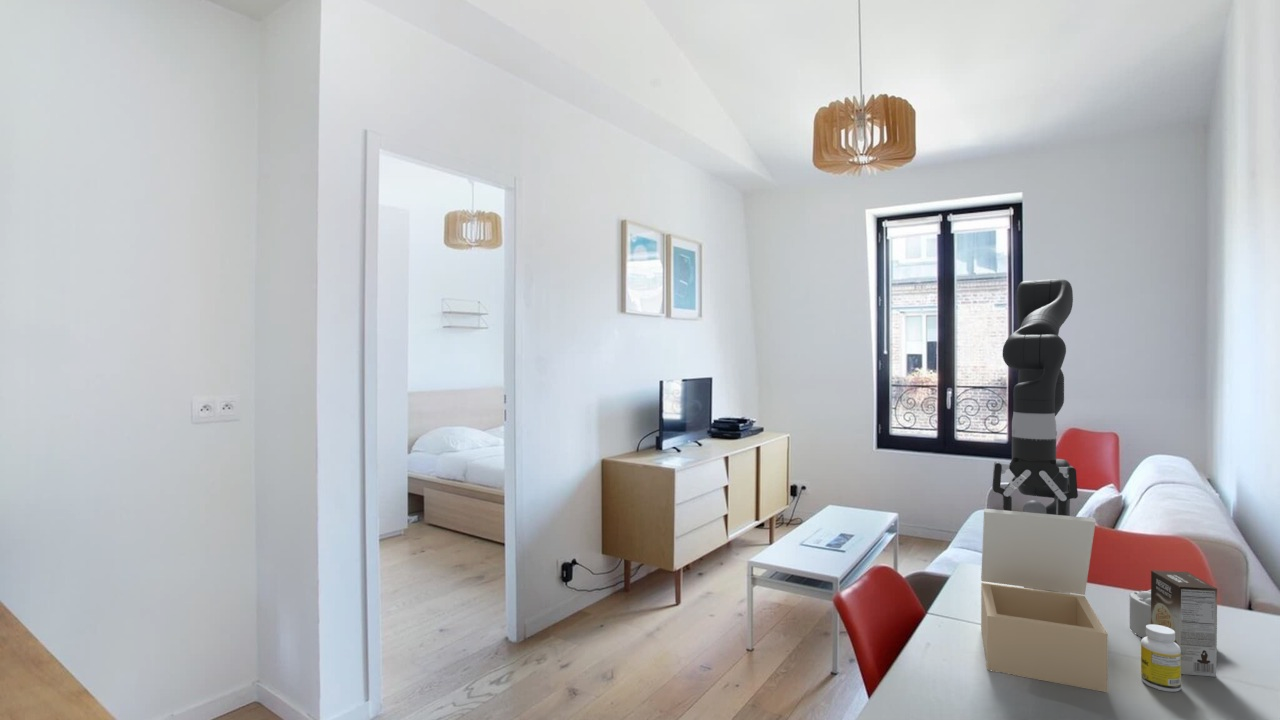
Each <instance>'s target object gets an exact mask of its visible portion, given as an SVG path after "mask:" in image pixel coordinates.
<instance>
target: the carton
mask: <svg viewBox="0 0 1280 720" xmlns="http://www.w3.org/2000/svg"><path fill="white" fill-rule="evenodd" d="M980 586H981V587H980V588H981V589H980V591H981V592H980V595H981V596H980V601H981V602H980V604H981V607H980V609H981V610H980V615H981V616H980V617H981V618H980V619H981V620H980V622H981V623H980V627H981V628H980V629H981V636H982V637H981V638H982V644H983V650H984V655H985V656H984V657H985V662H986V664H985V665H986V669H987V671H989V670H992V671H991V672H994V671H997V672H996V673H1000V672H1004V673H1003V674H1005V673H1009V674H1008V675H1010V674H1013V675H1012V676H1016V675H1017V677H1020V678H1021V677H1023V678H1028V679H1032V680H1033V679H1034V680H1039V681H1043V682H1044V681H1045V682H1050V683H1055V684H1060V685H1065V686H1071V687H1077V688H1082V689H1089V690H1094V691H1098V692H1104V693H1108V646H1109V645H1108V643H1109V642H1108V639H1109V638H1108V633H1107V630H1106V628H1105V627H1104V626H1103V624H1102V622H1101V620H1100V618H1098V616H1097V613H1095V611H1094V608H1093V607H1092V605H1091V604H1090V602H1089V601H1088V600H1087V597H1086V596H1085V595H1083V594H1075V593H1070V594H1067V593H1059V592H1052V591H1044V590H1037V589H1029V588H1024V587H1022V586H1014V585H1007V584H999V583H991V582H984V581H981V583H980Z"/></svg>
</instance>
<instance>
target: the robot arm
mask: <svg viewBox="0 0 1280 720" xmlns="http://www.w3.org/2000/svg"><path fill="white" fill-rule="evenodd" d="M1073 295H1074V294H1073V287H1072V284H1071V283H1070V281H1069V280H1066V279H1063V278H1052V279H1036V280H1024V281H1021V282H1020V283H1019V284H1018V286H1017V289H1016V313H1017V314H1016V315H1017V316H1016V317H1017V330H1015V331H1013V332H1012V333H1011V334H1010V335H1009V336H1008V337H1007V339H1006V340H1005V342H1004V344H1003V347H1002V359H1003V361H1004V363H1005V364H1006V366H1008V367H1009V368H1010V369H1013V370H1015V371H1018V378H1017V384H1015V385H1014V387H1013V394H1012V396H1013V399H1012V400H1013V403H1012V404H1013V412H1012V413H1013V414H1012V419H1011V461H1010V463H1005V462H1004V463H1003V462H1000V461H994V463H993V470H992V471H993V473H992V487H991V488H992V491H993V492H994V493H995V494H997V493H998V494H999V495H1002V510H1007V511H1013V510H1012V507H1013V505H1012V494H1013V493H1014V492H1015V490H1018V491H1019V493H1020V494H1022V495H1025V496H1032V497H1041V498H1049V499H1050V498H1051V499H1054V500H1053V502H1051V503H1050V504H1048V505H1047V504H1046V505H1044V506H1045V508H1046V511H1047V513H1046V514H1052V515H1063V516H1071V514H1070V513H1071V508H1070V507H1071V504H1070V503H1071V500H1072V499H1077V498H1078V497H1079V494H1078V493H1079V492H1078V482H1077V481H1078V480H1077V470H1076V468H1075V467H1074V466H1072V465H1070V463H1069V461H1068V460H1066V459H1063V458H1057V435H1058V431H1057V420H1056V416H1057V415H1058V414H1059V412H1060V411H1061V409H1062V408H1063V406H1064V403H1065V375H1064V372H1063V371H1062V369H1061V368H1062V367H1063V363H1064V361H1065V357H1066V353H1067V345H1066V342H1064V340H1063V338H1061V337H1060V336H1059V334H1060V333H1059V332H1060V328H1061V327H1062V326H1063V324H1064V323H1065V322H1066V320H1067V319H1068V318H1069V316H1070V314H1071V312H1072V309H1073V302H1074V296H1073ZM1007 470H1009V471H1010V472H1011V474H1013V477H1012V478H1011V480H1010V481H1009V482H1008V483H1007V484H1006V485H1005V486H1004V487H1002V486H1001V482H1002V481H1001V480H1002V475H1004V474H1005V473H1007V472H1006V471H1007ZM1023 588H1029V587H1023ZM1029 589H1037V588H1029ZM1037 590H1044V591H1052V590H1045V589H1037ZM1052 592H1059V593H1067V594H1071V593H1068V592H1060V591H1052Z"/></svg>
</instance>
